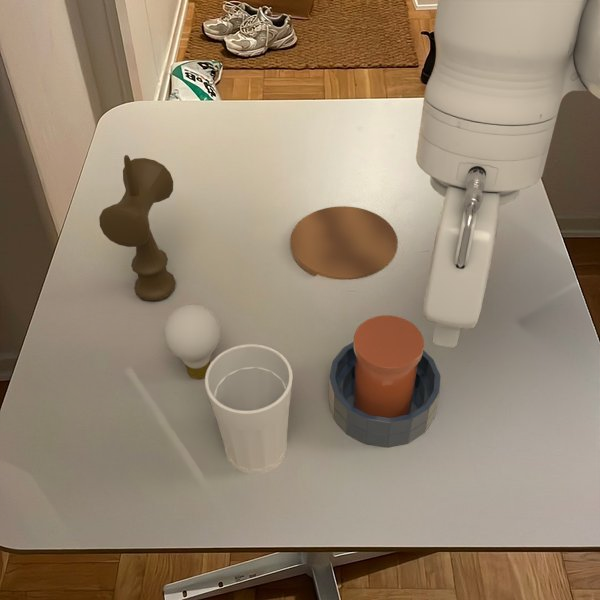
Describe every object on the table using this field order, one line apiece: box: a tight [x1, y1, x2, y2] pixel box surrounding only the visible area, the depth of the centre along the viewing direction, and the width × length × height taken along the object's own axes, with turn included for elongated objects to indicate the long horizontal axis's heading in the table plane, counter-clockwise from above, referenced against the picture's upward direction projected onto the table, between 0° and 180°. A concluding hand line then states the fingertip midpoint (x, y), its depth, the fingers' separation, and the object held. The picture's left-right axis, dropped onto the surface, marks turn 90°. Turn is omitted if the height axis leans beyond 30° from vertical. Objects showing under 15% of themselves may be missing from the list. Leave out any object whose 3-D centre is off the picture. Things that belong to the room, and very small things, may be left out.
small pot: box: [353, 314, 425, 418], centre depth 75 cm, size 7×7×10 cm
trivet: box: [290, 205, 399, 281], centre depth 97 cm, size 14×14×1 cm
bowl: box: [328, 341, 442, 448], centre depth 77 cm, size 11×11×5 cm
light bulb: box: [163, 303, 221, 380], centre depth 79 cm, size 6×6×10 cm
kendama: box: [98, 154, 176, 302], centre depth 85 cm, size 6×10×20 cm, turn 171°
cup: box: [204, 343, 294, 475], centre depth 71 cm, size 8×8×12 cm
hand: (450, 306), depth 59 cm, fingers open, 8 cm apart
